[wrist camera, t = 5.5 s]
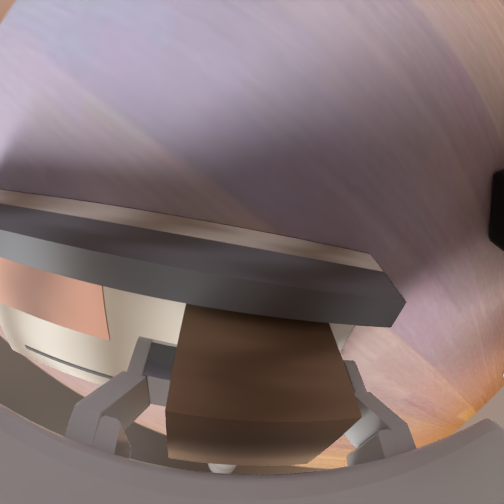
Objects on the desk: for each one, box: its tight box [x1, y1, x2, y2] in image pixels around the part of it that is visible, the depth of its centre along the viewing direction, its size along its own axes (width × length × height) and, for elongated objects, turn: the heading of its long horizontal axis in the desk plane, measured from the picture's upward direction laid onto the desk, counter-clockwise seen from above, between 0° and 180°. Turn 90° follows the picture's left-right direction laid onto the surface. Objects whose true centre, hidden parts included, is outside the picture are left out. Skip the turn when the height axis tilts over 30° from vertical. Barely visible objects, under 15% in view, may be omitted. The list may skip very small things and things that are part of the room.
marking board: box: [0, 190, 406, 385], centre depth 11 cm, size 20×11×4 cm, turn 77°
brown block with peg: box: [165, 304, 362, 474], centre depth 10 cm, size 5×9×5 cm, turn 167°
